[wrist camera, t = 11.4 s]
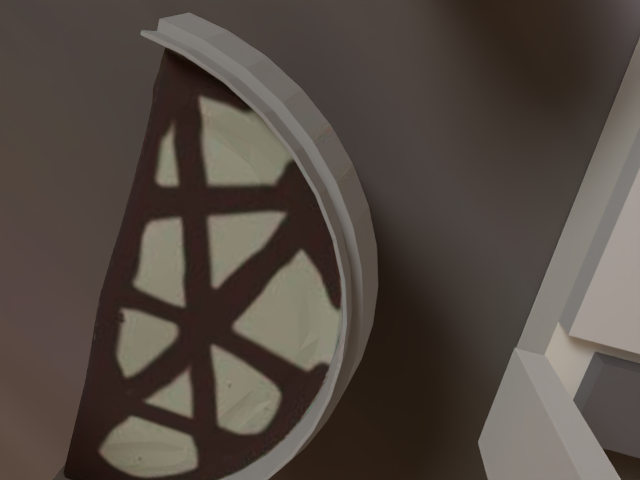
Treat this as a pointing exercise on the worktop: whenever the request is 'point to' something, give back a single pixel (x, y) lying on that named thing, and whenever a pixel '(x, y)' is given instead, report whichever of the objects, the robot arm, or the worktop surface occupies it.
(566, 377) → the scale
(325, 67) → the worktop surface
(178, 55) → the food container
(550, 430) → the robot arm
